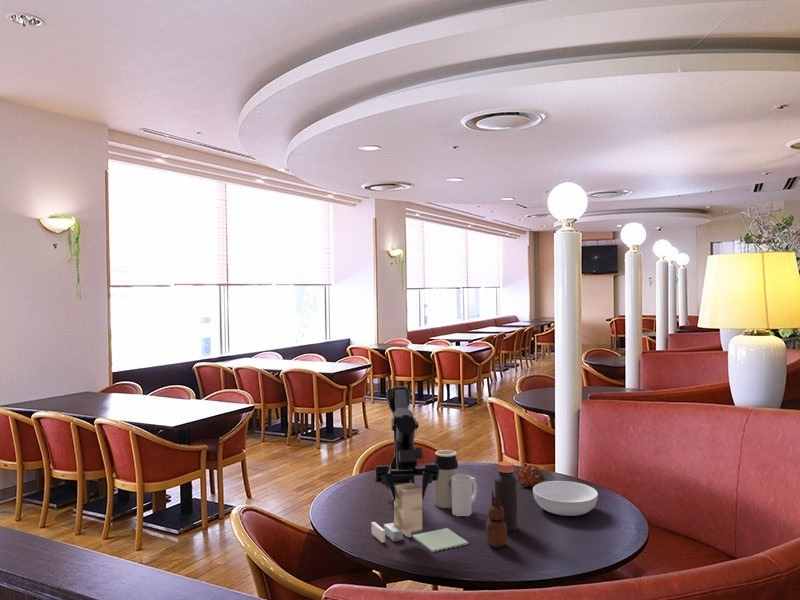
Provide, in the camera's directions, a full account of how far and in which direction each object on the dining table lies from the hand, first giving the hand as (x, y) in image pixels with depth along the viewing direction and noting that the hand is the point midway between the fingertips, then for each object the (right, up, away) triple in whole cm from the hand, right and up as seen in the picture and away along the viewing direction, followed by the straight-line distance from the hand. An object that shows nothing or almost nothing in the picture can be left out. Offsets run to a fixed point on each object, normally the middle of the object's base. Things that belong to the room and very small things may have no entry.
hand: (408, 500), depth 179 cm
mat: (+9, -13, +4) cm, 17 cm away
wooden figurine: (+25, -13, +1) cm, 29 cm away
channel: (-5, -13, +8) cm, 17 cm away
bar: (-5, -14, +8) cm, 16 cm away
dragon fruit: (+46, -12, +54) cm, 72 cm away
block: (0, -9, +2) cm, 9 cm away
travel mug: (+13, -13, +34) cm, 39 cm away
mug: (+19, -13, +27) cm, 35 cm away
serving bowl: (+52, -13, +28) cm, 60 cm away
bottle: (+30, -13, +13) cm, 36 cm away
